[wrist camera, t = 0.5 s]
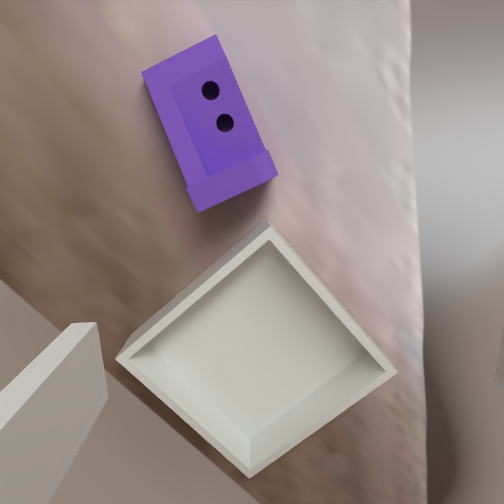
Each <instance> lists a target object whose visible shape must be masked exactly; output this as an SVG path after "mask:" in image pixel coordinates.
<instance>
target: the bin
mask: <svg viewBox="0 0 504 504" xmlns="http://www.w3.org/2000/svg"><path fill="white" fill-rule="evenodd" d="M115 359H116V360H117V361H118V362H119V363H120V364H121V365H123V366H124V367H125V368H126V369H127V370H128V371H129V372H130V373H131V374H133V375H134V376H135V377H136V378H137V379H138V380H139V381H140V382H142V383H143V384H144V385H145V386H146V387H147V388H148V389H149V390H151V391H152V392H153V393H154V394H155V395H156V396H157V397H158V398H159V399H161V400H162V401H163V402H164V403H165V404H166V405H167V406H168V407H170V408H171V409H172V410H173V411H174V412H175V413H176V414H177V415H179V416H180V417H181V418H182V419H183V420H184V421H185V422H186V423H188V424H189V425H190V426H191V427H192V428H193V429H194V430H195V431H196V432H198V433H199V434H200V435H201V436H202V437H203V438H204V439H205V440H207V441H208V442H209V443H210V444H211V445H212V446H213V447H214V448H216V449H217V450H218V451H219V452H220V453H221V454H222V455H223V456H224V457H226V458H227V459H228V460H229V461H230V462H231V463H232V464H233V465H235V466H236V467H237V468H238V469H239V470H240V471H241V472H242V473H244V474H245V475H246V476H247V477H248V478H249V479H250V478H251V477H252V476H254V475H255V474H257V473H258V472H259V471H261V470H262V469H264V468H265V467H266V466H268V465H269V464H271V463H272V462H273V461H275V460H276V459H278V458H279V457H280V456H282V455H283V454H285V453H286V452H287V451H289V450H290V449H292V448H293V447H294V446H296V445H297V444H299V443H300V442H301V441H303V440H304V439H305V438H307V437H308V436H310V435H311V434H312V433H314V432H315V431H317V430H318V429H319V428H321V427H322V426H324V425H325V424H326V423H328V422H329V421H331V420H332V419H333V418H335V417H336V416H338V415H339V414H340V413H342V412H343V411H345V410H346V409H347V408H349V407H350V406H352V405H353V404H354V403H356V402H357V401H359V400H360V399H361V398H363V397H364V396H366V395H367V394H368V393H370V392H371V391H373V390H374V389H375V388H377V387H378V386H379V385H381V384H382V383H384V382H385V381H386V380H388V379H389V378H391V377H392V376H393V375H395V374H396V373H398V372H397V370H396V369H395V368H394V366H393V365H392V364H391V362H390V361H389V359H388V358H387V357H386V355H385V354H384V353H383V351H382V350H381V348H380V347H379V346H378V345H377V344H376V342H375V341H374V340H373V339H372V338H371V337H370V335H369V334H368V333H367V332H366V331H365V330H364V329H363V327H362V326H361V325H360V324H359V323H358V322H357V321H356V319H355V318H354V317H353V316H352V315H351V314H350V312H349V311H348V310H347V309H346V308H345V307H344V306H343V304H342V303H341V302H340V301H339V300H338V299H337V298H336V296H335V295H334V294H333V293H332V292H331V291H330V289H329V288H328V287H327V286H326V285H325V284H324V283H323V281H322V280H321V279H320V278H319V277H318V276H317V275H316V273H315V272H314V271H313V270H312V269H311V268H310V266H309V265H308V264H307V263H306V262H305V261H304V260H303V258H302V257H301V256H300V255H299V254H298V253H297V252H296V250H295V249H294V248H293V247H292V246H291V245H290V243H289V242H288V241H287V240H286V239H285V238H284V237H283V235H282V234H281V233H280V232H279V231H278V230H277V229H276V227H275V226H274V225H273V224H272V223H271V222H270V220H269V219H268V218H265V219H264V220H263V221H262V222H261V223H260V224H259V225H257V226H256V227H255V228H254V229H253V230H252V231H250V232H249V233H248V234H247V235H246V236H245V237H243V238H242V239H241V240H240V241H239V242H238V243H236V244H235V245H234V246H233V247H232V248H231V249H229V250H228V251H227V252H226V253H225V254H224V255H223V256H221V257H220V258H219V259H218V260H217V261H216V262H214V263H213V264H212V265H211V266H210V267H209V268H207V269H206V270H205V271H204V272H203V273H202V274H200V275H199V276H198V277H197V278H196V279H195V280H194V281H192V282H191V283H190V284H189V285H188V286H187V287H185V288H184V289H183V290H182V291H181V292H180V293H178V294H177V295H176V296H175V297H174V298H173V299H171V300H170V301H169V302H168V303H167V304H166V305H165V306H163V307H162V308H161V309H160V310H159V311H158V312H156V313H155V314H154V315H153V316H152V317H151V318H149V319H148V320H147V321H146V322H145V323H144V324H142V325H141V326H140V327H139V328H138V329H137V330H135V331H134V332H133V333H132V334H131V335H130V337H129V338H128V340H127V341H126V343H125V344H124V346H123V348H122V349H121V351H120V352H119V354H118V355H117V357H116V358H115Z"/></svg>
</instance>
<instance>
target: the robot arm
mask: <svg viewBox="0 0 504 504" xmlns="http://www.w3.org/2000/svg"><path fill="white" fill-rule="evenodd" d="M495 382H497V383H498V384H499V385H500V386H501V387H502V388H503V389H504V330H503V335H502V341H501V346H500V352H499V357H498V363H497V368H496V374H495ZM107 399H108V390H107V384H106V378H105V372H104V366H103V359H102V353H101V347H100V341H99V335H98V329H97V323H96V322H90V323H72V324H71V325H70V326H68V327H67V328H66V329H65V330H64V331H63V332H62V333H61V334H60V335H59V336H58V337H57V338H56V339H55V340H54V341H53V342H52V343H51V344H50V345H49V346H48V347H47V348H46V349H45V350H44V351H43V352H42V353H41V354H40V355H38V356H37V357H36V358H35V359H34V360H33V361H32V362H31V363H30V364H29V365H28V366H27V367H26V368H25V369H24V370H23V371H22V372H21V373H20V374H19V375H18V376H17V377H16V378H15V379H14V380H13V381H12V382H11V383H10V384H8V385H7V387H5V388H4V389H3V390H2V391H1V392H0V504H49V503H50V501H51V499H52V497H53V495H54V494H55V492H56V490H57V488H58V486H59V485H60V483H61V481H62V479H63V477H64V476H65V474H66V472H67V470H68V469H69V467H70V465H71V463H72V461H73V460H74V458H75V456H76V454H77V453H78V450H79V449H80V447H81V445H82V444H83V442H84V440H85V438H86V437H87V435H88V433H89V431H90V429H91V428H92V426H93V424H94V422H95V421H96V419H97V417H98V415H99V413H100V412H101V410H102V408H103V406H104V404H105V402H106V401H107Z"/></svg>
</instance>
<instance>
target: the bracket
mask: <svg viewBox="0 0 504 504" xmlns="http://www.w3.org/2000/svg"><path fill="white" fill-rule="evenodd" d="M141 73H142V76H143V78H144V80H145V83H146V85H147V88H148V90H149V93H150V95H151V98H152V100H153V102H154V105H155V107H156V110H157V112H158V115H159V117H160V120H161V122H162V124H163V127H164V129H165V132H166V134H167V137H168V139H169V142H170V144H171V146H172V149H173V151H174V154H175V156H176V159H177V161H178V164H179V166H180V168H181V171H182V173H183V176H184V178H185V181H186V183H187V186H188V187H187V188H186V190H187V192H188V194H189V196H190V198H191V200H192V202H193V204H194V206H195V208H196V210H197V212H198V213H199V212H201V211H203V210H206V209H208V208H210V207H212V206H214V205H216V204H219V203H221V202H223V201H225V200H227V199H229V198H232V197H234V196H236V195H238V194H240V193H243V192H245V191H247V190H249V189H251V188H253V187H256V186H258V185H260V184H262V183H264V182H266V181H268V180H270V179H272V178H274V177H276V176H277V175H278V172H277V170H276V168H275V165H274V163H273V160H272V158H271V156H270V153H269V151H268V150H265V148H264V145H263V143H262V141H261V138H260V136H259V133H258V131H257V129H256V126H255V124H254V122H253V119H252V117H251V114H250V112H249V110H248V107H247V105H246V103H245V100H244V98H243V96H242V93H241V91H240V88H239V86H238V84H237V81H236V79H235V77H234V74H233V72H232V69H231V67H230V65H229V62H228V60H227V58H226V55H225V53H224V51H223V49H222V47H221V44H220V42H219V40H218V38H217V36H216V35H214V36H212V37H210V38H208V39H206V40H204V41H202V42H200V43H198V44H196V45H194V46H192V47H190V48H188V49H186V50H184V51H182V52H180V53H178V54H176V55H174V56H172V57H170V58H168V59H166V60H164V61H162V62H160V63H158V64H156V65H154V66H152V67H150V68H148V69H146V70H145V71H143V72H141ZM211 82H213V83H217V84H218V86H219V89H220V93H219V96H218V97H217V98H216V99H215V100H207V99H205V98H204V96H203V95H202V89H203V87H204V86H205V85H206V84H208V83H211ZM221 114H229V115H230V116H231V117H232V118H233V121H234V126H233V128H232V130H231V131H229V132H221V131H220V130H219V129H218V128H217V126H216V120H217V118H218V116H220V115H221Z"/></svg>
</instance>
